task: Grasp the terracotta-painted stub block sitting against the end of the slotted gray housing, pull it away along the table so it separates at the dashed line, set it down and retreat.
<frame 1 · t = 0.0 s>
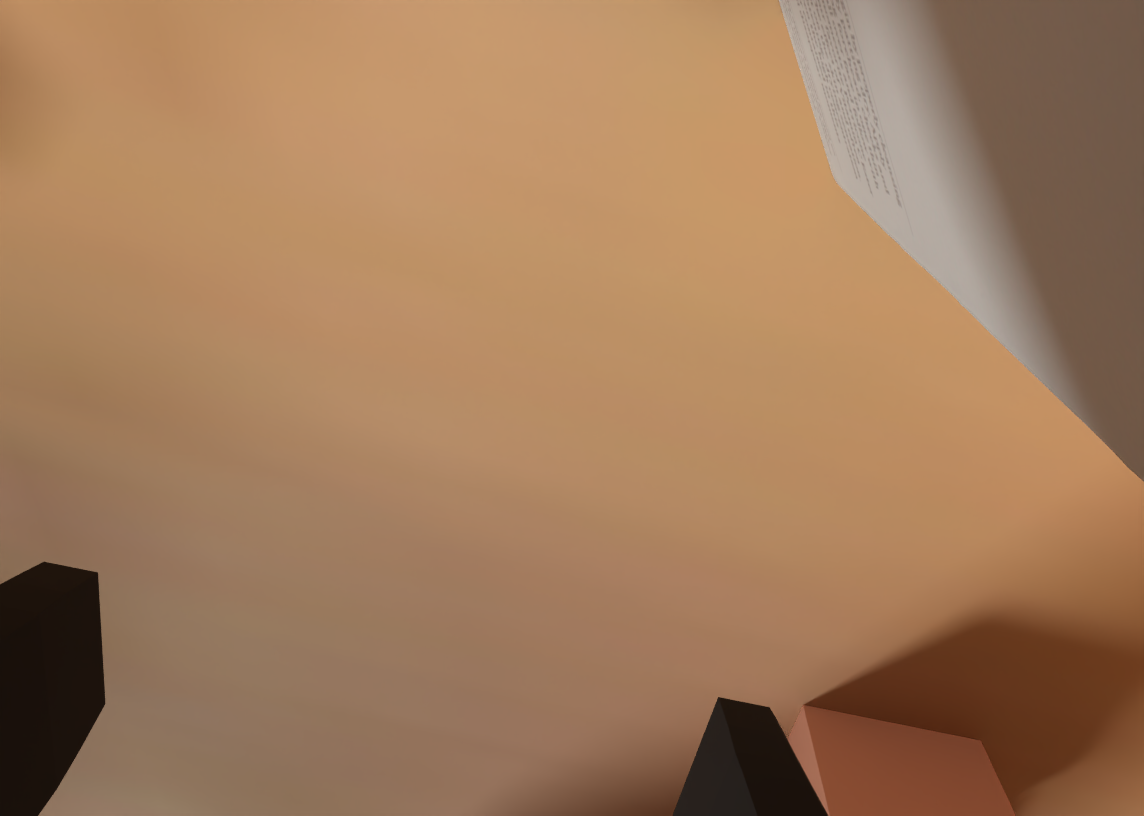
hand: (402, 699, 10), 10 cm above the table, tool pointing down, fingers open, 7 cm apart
stub: (862, 775, 24), on the table
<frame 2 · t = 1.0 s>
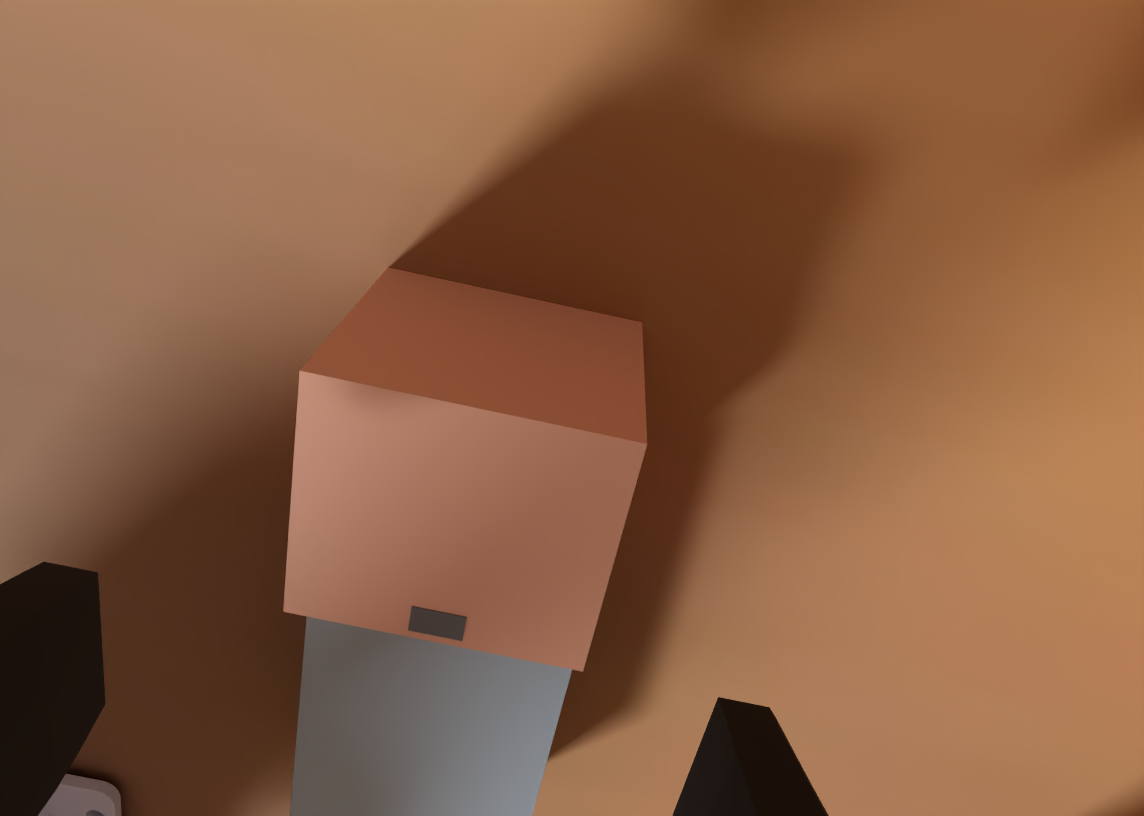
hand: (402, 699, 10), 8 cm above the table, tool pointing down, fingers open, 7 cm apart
stub: (497, 393, 17), on the table
slotted gray housing: (451, 640, 20), on the table
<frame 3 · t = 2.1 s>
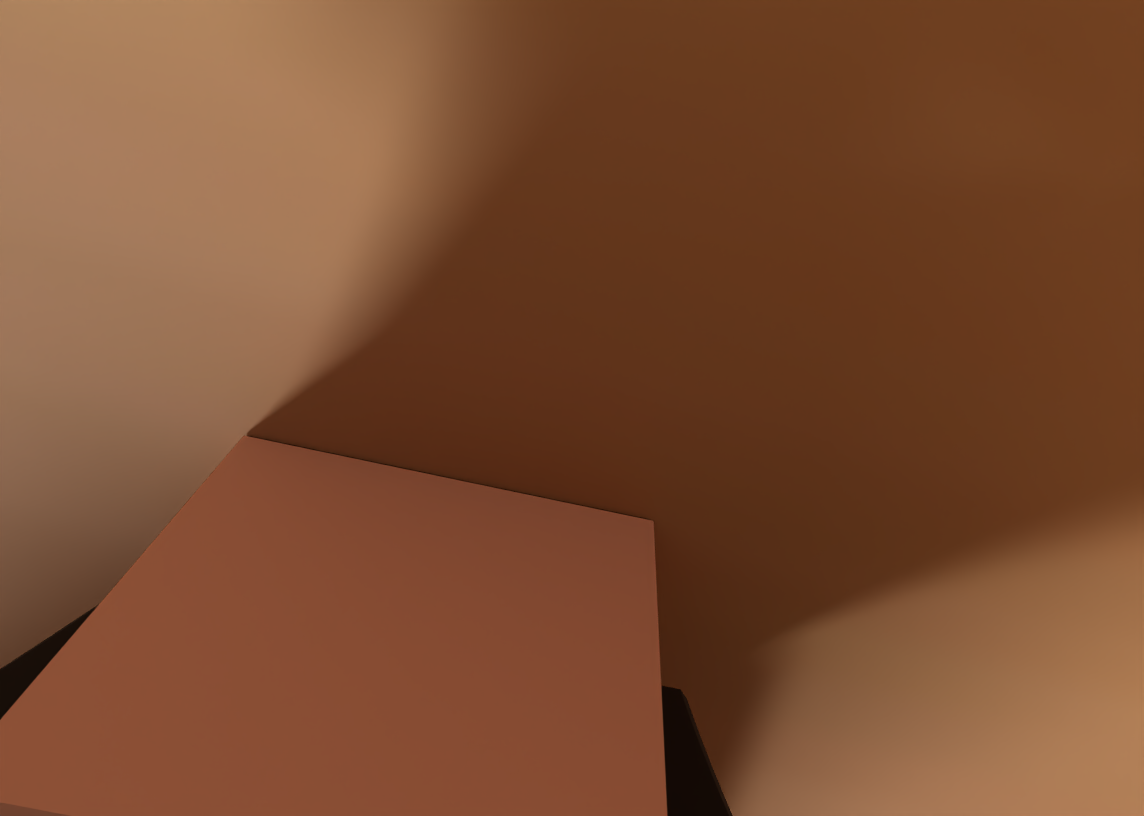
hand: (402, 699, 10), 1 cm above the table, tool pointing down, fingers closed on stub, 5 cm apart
stub: (427, 618, 11), on the table, touching gripper
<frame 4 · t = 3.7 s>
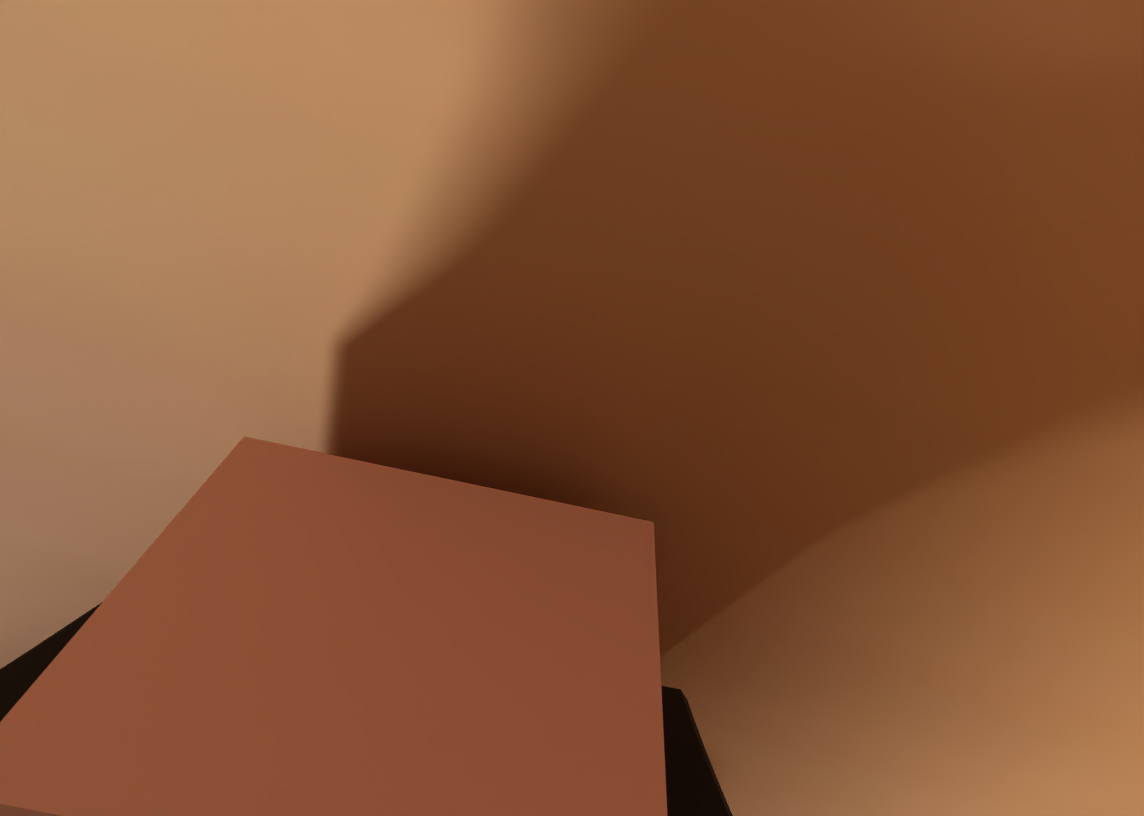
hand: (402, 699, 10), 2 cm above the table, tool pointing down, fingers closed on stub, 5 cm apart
stub: (427, 619, 11), point 1 cm above the table, touching gripper
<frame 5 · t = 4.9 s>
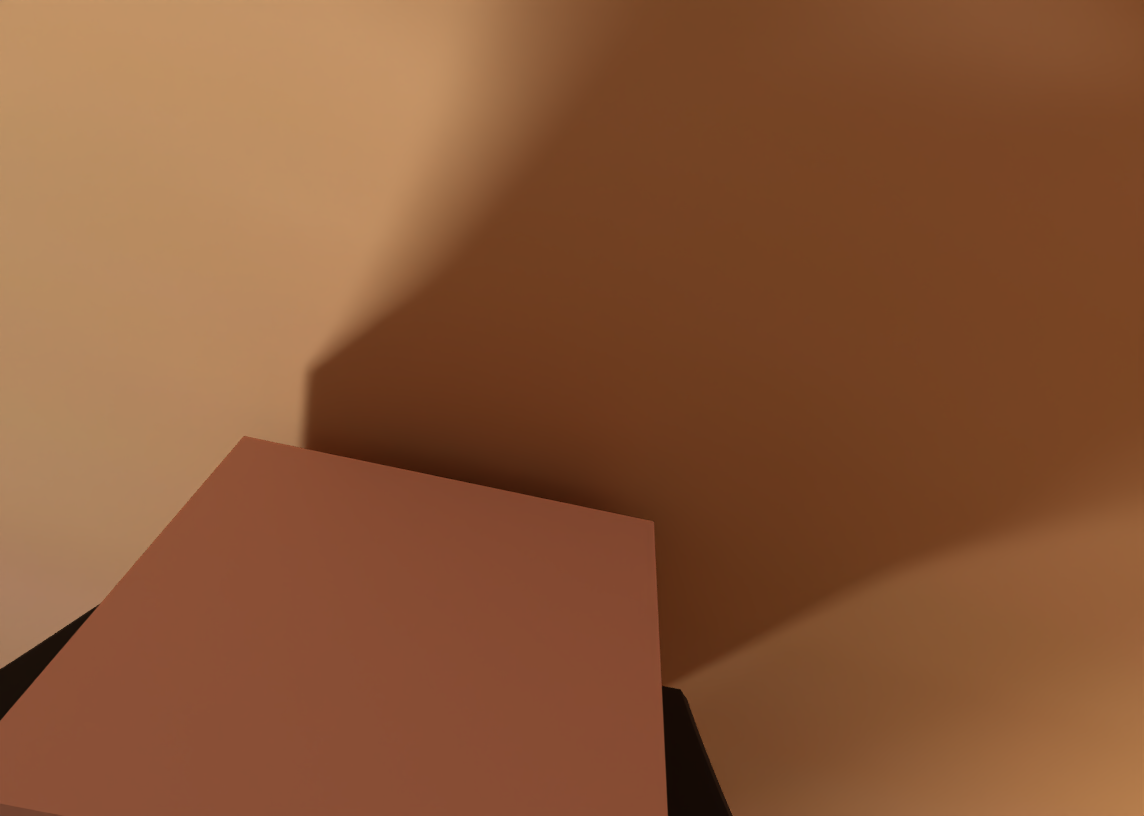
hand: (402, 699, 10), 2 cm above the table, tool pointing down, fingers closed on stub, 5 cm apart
stub: (427, 618, 11), point 1 cm above the table, touching gripper
when the fingers open (2 cm above the table, at t = 5.6 s): stub stays where it is, on the table.
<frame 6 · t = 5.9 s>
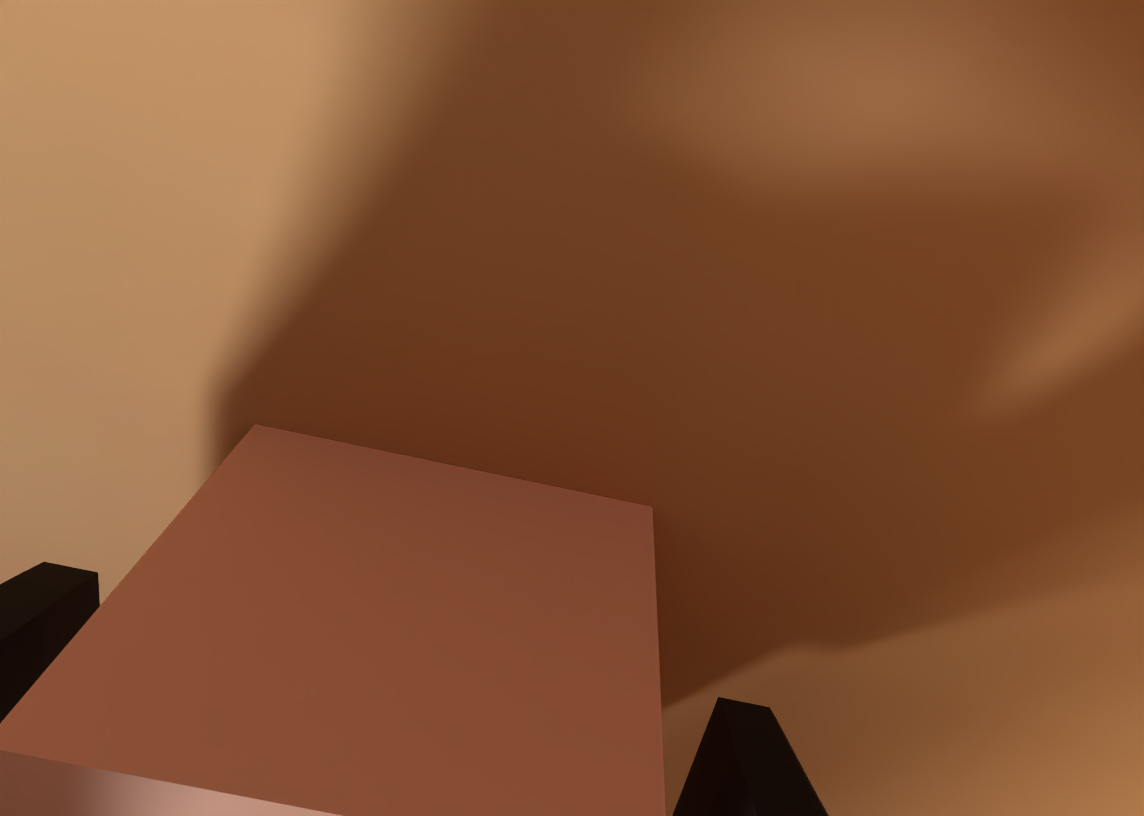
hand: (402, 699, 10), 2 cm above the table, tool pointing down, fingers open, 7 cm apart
stub: (433, 599, 12), on the table
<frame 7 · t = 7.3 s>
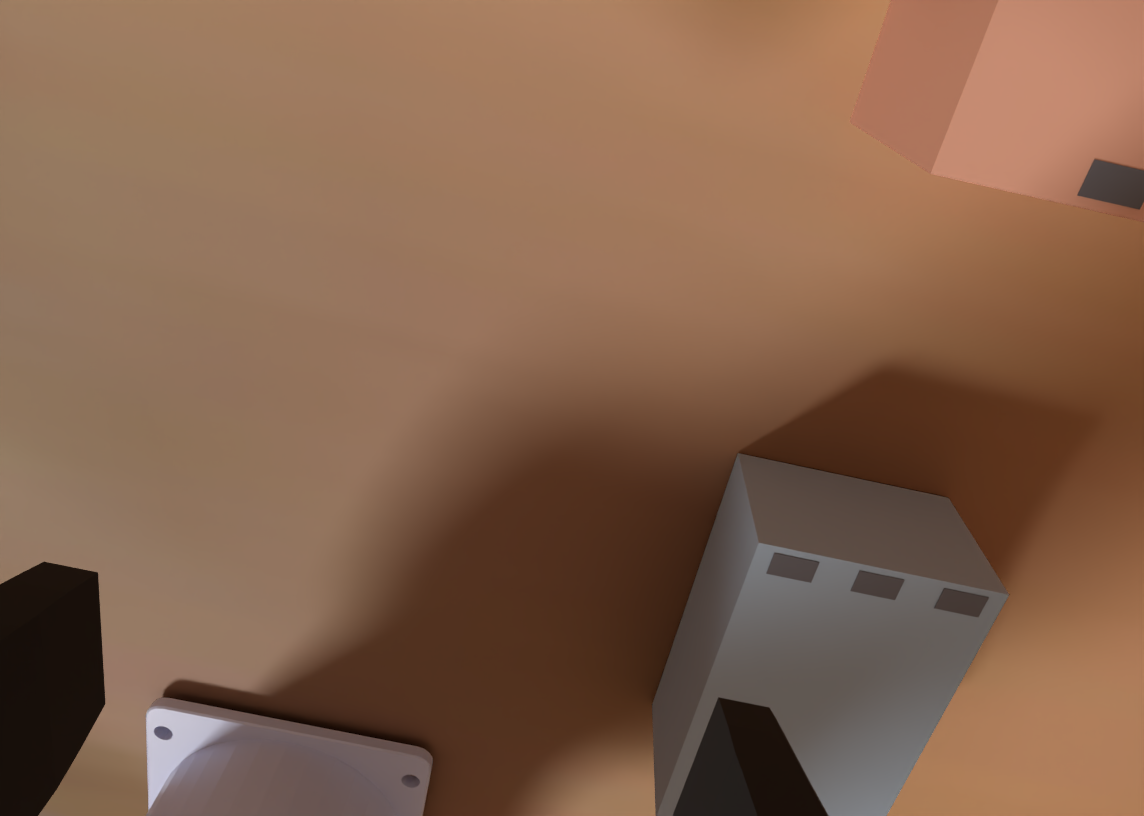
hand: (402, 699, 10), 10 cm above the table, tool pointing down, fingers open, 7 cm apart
stub: (1024, 27, 15), on the table
slotted gray housing: (788, 609, 21), on the table
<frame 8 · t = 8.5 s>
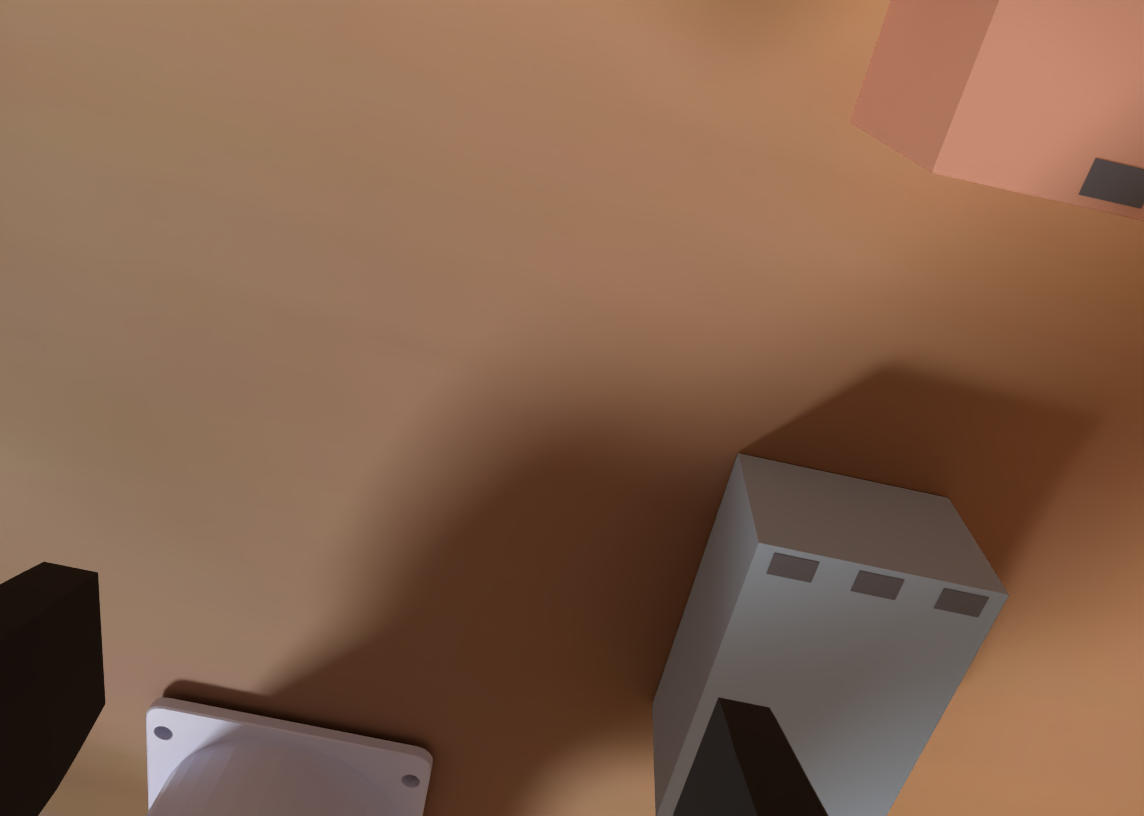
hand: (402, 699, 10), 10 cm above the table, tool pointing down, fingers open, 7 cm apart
stub: (1024, 27, 15), on the table
slotted gray housing: (788, 609, 21), on the table
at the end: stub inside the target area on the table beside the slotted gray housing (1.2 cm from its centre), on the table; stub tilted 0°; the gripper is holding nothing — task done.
